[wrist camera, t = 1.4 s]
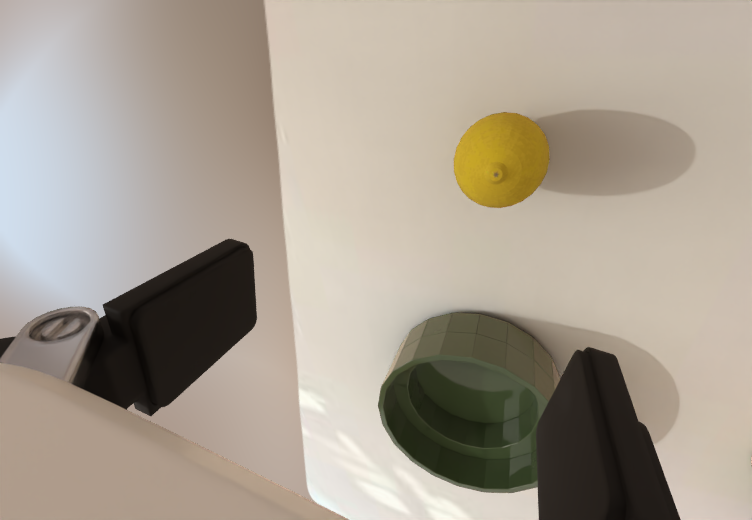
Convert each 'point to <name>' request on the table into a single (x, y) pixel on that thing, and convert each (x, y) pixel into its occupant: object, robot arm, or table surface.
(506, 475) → the green round bowl
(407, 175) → the table surface
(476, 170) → the lemon
